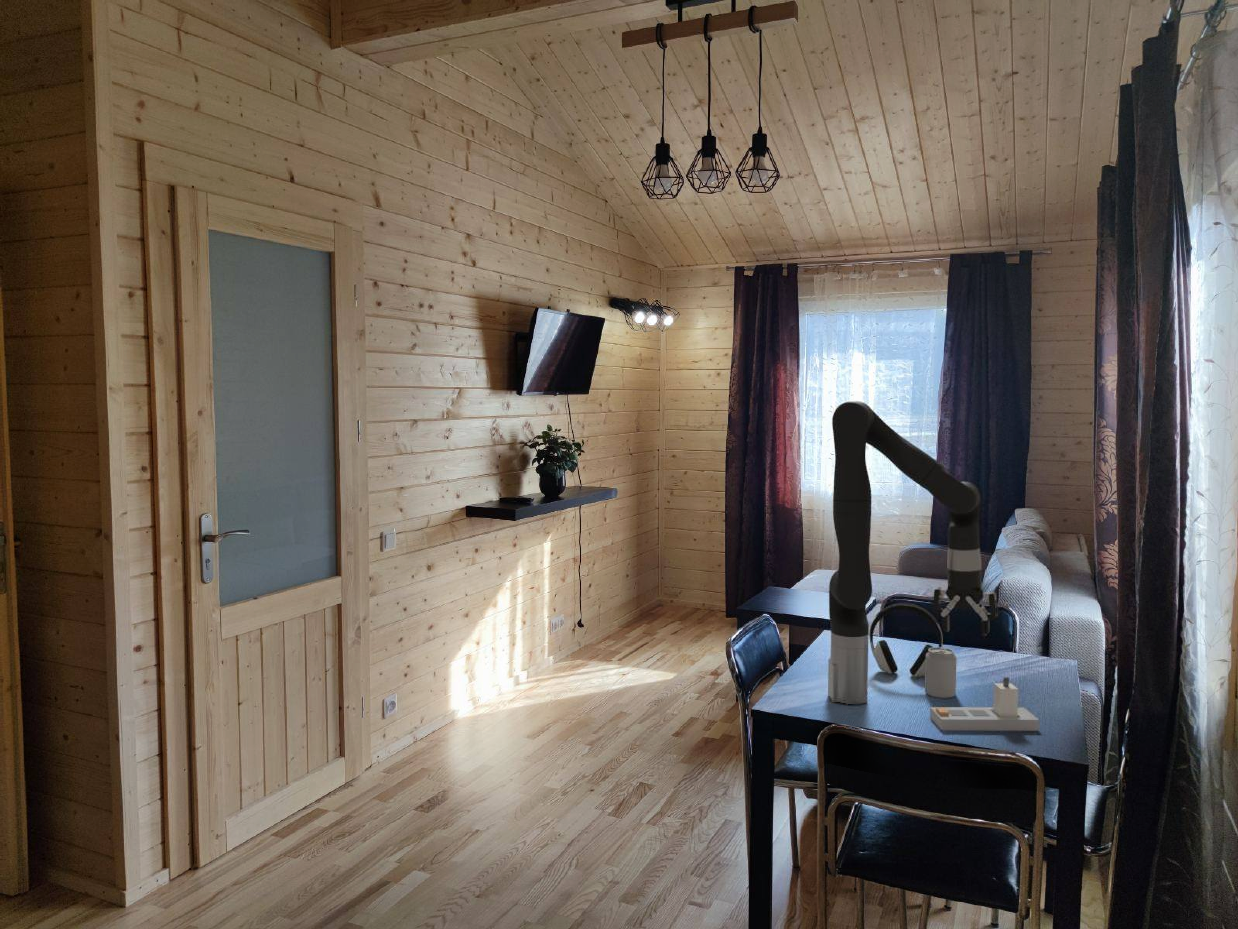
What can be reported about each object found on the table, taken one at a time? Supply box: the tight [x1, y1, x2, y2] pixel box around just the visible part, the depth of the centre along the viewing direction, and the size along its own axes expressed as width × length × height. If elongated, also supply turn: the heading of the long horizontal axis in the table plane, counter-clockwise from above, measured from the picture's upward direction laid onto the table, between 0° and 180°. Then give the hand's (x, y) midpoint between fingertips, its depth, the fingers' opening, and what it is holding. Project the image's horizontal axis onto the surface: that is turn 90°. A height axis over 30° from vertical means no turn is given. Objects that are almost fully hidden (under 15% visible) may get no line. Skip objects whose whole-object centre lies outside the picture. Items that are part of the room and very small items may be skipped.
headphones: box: [868, 602, 944, 678], centre depth 246 cm, size 19×8×20 cm, turn 68°
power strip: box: [929, 706, 1040, 732], centre depth 209 cm, size 22×8×4 cm, turn 89°
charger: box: [992, 676, 1019, 718], centre depth 208 cm, size 4×4×11 cm
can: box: [924, 646, 958, 699], centre depth 229 cm, size 8×8×12 cm
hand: (965, 633), depth 215 cm, fingers open, 8 cm apart
